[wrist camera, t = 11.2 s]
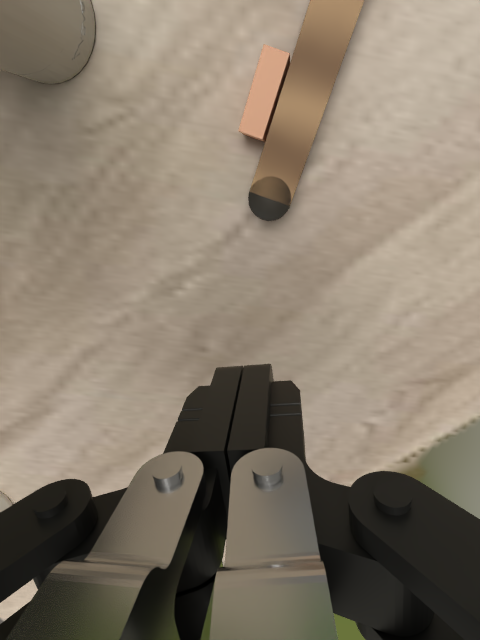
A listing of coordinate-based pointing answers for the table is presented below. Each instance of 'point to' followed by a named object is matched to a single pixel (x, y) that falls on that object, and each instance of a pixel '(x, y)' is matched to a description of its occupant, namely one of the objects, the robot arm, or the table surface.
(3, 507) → the coffee cup
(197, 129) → the table surface
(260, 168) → the leg
